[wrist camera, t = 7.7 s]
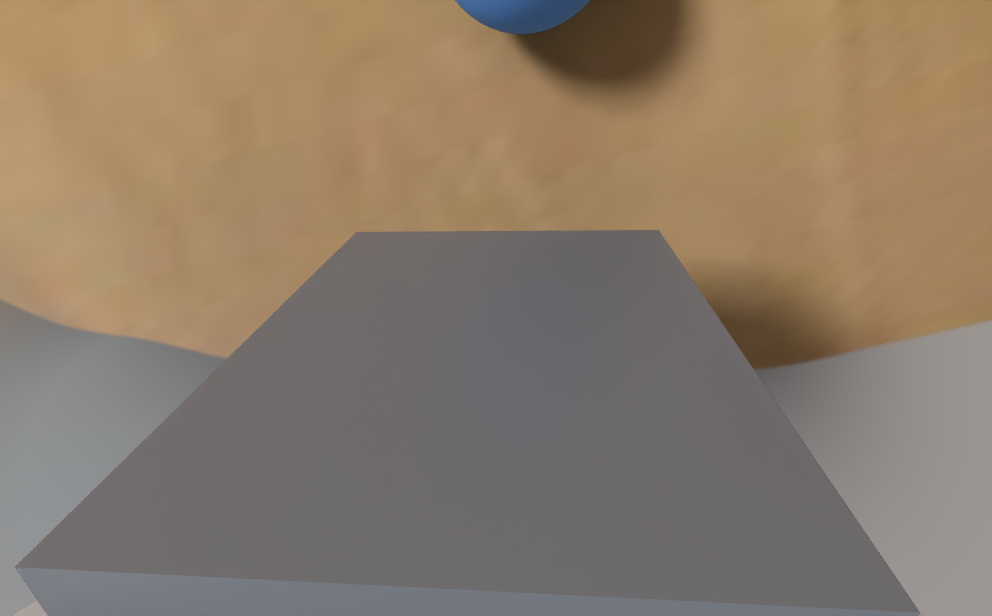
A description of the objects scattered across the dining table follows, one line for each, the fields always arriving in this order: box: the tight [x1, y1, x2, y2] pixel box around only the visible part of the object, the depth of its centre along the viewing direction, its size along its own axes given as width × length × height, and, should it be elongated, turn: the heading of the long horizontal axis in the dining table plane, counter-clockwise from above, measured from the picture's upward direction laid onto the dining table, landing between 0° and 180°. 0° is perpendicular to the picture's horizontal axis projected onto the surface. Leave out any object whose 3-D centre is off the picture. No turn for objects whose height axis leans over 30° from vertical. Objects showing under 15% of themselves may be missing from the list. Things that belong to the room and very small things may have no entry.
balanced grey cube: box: [15, 230, 920, 616], centre depth 9 cm, size 7×7×9 cm
